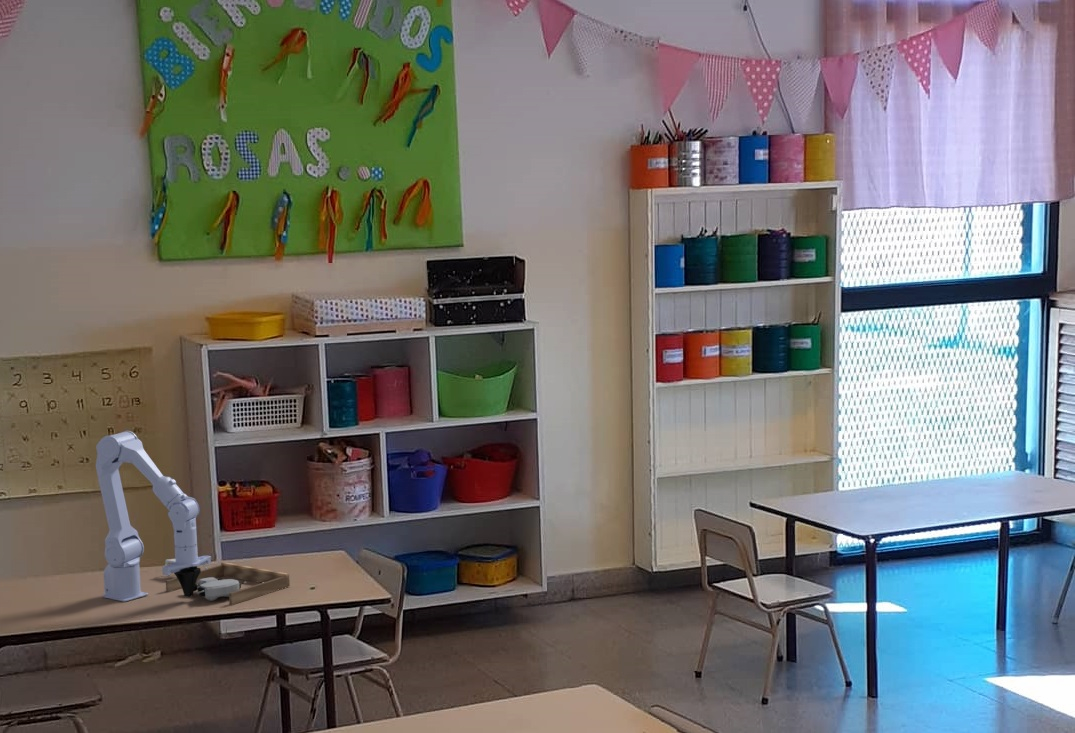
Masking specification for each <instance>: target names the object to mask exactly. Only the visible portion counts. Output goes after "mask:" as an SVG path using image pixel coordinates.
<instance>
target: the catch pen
mask: <svg viewBox="0 0 1075 733" xmlns="http://www.w3.org/2000/svg"><path fill="white" fill-rule="evenodd" d="M207 568H208V567H207ZM204 569H205V568H204ZM204 569H202V570H201V572H200V574H199V576H198V578H197V581H196V584H197V585H198V581H199V580H200V579H204V578H210V577H213V578H216V579H218V578H222V577H228V576H229V577H230V578H233V577H234V579H239V578H240V580H244V579H246V580H245V581H249V580H252V581H251V582H255V581H258V582H257V584H254V585H251V586H247V587H245V588H242V589H241V588H240V590H238V591H235V592H231V593H229V597H228V598H229V600H228V601H229V605H230V606H233V605H237V604H240V603H243V602H246V601H249V600H253V599H256V598H259V597H262V596H265V595H267V594H266V593H268V594H271V593H270V592H272V593H274V592H273V591H275V592H277V591H276V590H278V589H281V590H283V589H282V588H284V589H286V588H285V587H287V588H289V587H288V586H290V587H291V585H290V584H291V583H290V573H288V572H287V573H286V572H280V571H277V570H270V569H264V568H261V567H253V566H249V565H242V564H238V563H231V562H227V561H226V562H225V561H222V562H220V565H219V564H218V565H216V566H212V567H209V568H208V569H205V570H204ZM229 577H228V578H229ZM260 582H264V583H260ZM180 589H182V587H181V584H180V582H179V580H178V578H177V577H174V578H171V579H167V580H165V590H166V592H167V593H170V592H174V591H178V590H180ZM278 591H279V590H278ZM264 594H265V595H264ZM261 595H262V596H261Z"/></svg>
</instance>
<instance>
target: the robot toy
mask: <svg viewBox="0 0 1075 733" xmlns="http://www.w3.org/2000/svg"><path fill="white" fill-rule="evenodd" d="M246 583H247V581H244V582H241V581H239V580H237V579H235V578H234V579H233V578H227V579H223V578H222V577H218V578H213V577H210V578H204V579H200V580H199V581H198V584H195V588H194V592H196V591H197V592H196V594H197V595H198V596H200V597H202V598H205V599H206V600H207V601H210V602H211V601H212V602H213V601H215V600H217V599H218V598H220V597H225V598H229V593H231V592H235V591H238V590H241V588H242V585H243V584H246Z"/></svg>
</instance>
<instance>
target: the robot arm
mask: <svg viewBox="0 0 1075 733" xmlns="http://www.w3.org/2000/svg"><path fill="white" fill-rule="evenodd" d="M95 448H96V453H97V455H96V459H95V469H96V475H97V480H98V484H99V489H100V493H101V498H102V503H103V507H104V511H105V516H106V520H107V525H108V526H107V527H108V530H109V531H108V533H107V534H106V537H105V539H104V545H105V547H104V548H105V549H104V553H103V554H104V559H105V560H106V562H107V565H106V566H105V567H104V570H103V582H104V583H103V584H104V586H103V587H104V594H102V596H101V597H102V598H105V599H109V600H114V601H119V602H124V603H125V602H128V601H132V600H135V599H139V598H142V597H145V596H148V595H149V593H148V592H144V591H142V588H141V572H140V561H141V557H142V556H143V554H144V551H145V546H144V543H143V541H142V540H141V538H140V536H139V532H138V530H137V529H135V527H133V526H132V525H131V523H130V518H129V512H128V508H127V504H126V498H125V494H124V489H123V485H122V480H121V479H122V478H121V475H120V471H119V468H120V467H121V466H122V464H123V463H129V464H133V466H134V467H135V468H136V469H137V470H139V471H140V473H141V474H142V475H143V476H144V477H145V478H146V479H147V480H148V481H149V482H150V483H151V484H152V492H153V493H154V495H155V496H156V497H157V498H158V500H159V501H160V502H161V503H162V504H163V506H164V507H166V509H167V510H168V512H167V516H168V518H169V520H170V521H171V523H172V528H173V540H174V541H173V542H174V557H175V558H174V559H175V561H176V562H174V563H168V565H167V566H165V565H164V566H162V568H161V569H162V575H164V576H168V575H171V574H174V576H175V578H178V580H179V582H180V584H181V587H182V588H181V589H182V592H183V596H184V597H187V598H188V597H189V598H191V597H193V596H194V592H195V591H194V588H195V584H196V581H197V578H198V576H199V574H200V572H201V568H200V567H199V566H203V564H205V565H210V564H212V556H211V555H201V556H199V555H198V554H199V553H198V535H197V534H198V533H197V520H196V519H197V517H198V516H199V514H200V505H199V503H198V501H197V500H196V498H194V497H191V496H188V495H187V493H184V492H183V491H182V489H181V488H180V487H179V485H177V481H176V480H175V479H174V478H172V477H170V476H164V474H163V473H162V472H161V471H160V469H159V468H158V467H157V465H156V464H155V462H154V461H153V460H152V459H151V457H150V456H149V454H148V453H147V452H146V450H145V449H144V446H143V442H142V440H140V439H139V437H138V436H137V435H136V434H135V433H134V432H133V431H131V430H124V431H122V432H119V433H116V434H111V435H105V436H103V437H102V438H101V439H100V440H99V442H98V443H97V444H96V446H95Z"/></svg>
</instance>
